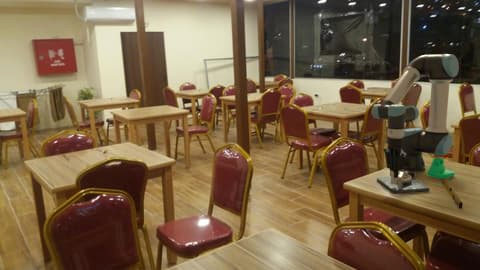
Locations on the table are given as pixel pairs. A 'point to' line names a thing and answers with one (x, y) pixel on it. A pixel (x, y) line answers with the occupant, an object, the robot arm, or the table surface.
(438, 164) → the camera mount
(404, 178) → the silver ladle
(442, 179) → the spirit level
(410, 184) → the stand
